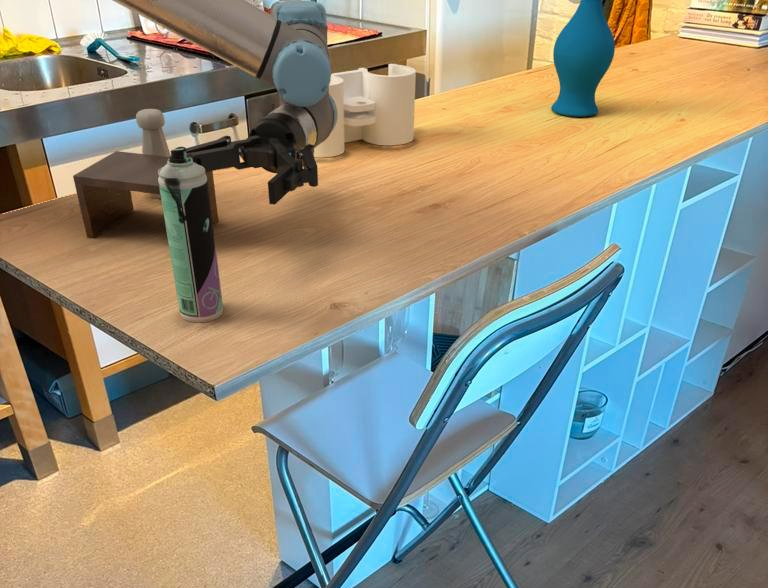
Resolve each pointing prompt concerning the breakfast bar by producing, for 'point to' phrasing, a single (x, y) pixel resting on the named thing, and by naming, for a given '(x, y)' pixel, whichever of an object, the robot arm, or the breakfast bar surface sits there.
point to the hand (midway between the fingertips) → (220, 187)
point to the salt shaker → (152, 134)
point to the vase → (582, 59)
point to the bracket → (371, 108)
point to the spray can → (190, 237)
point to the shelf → (121, 188)
